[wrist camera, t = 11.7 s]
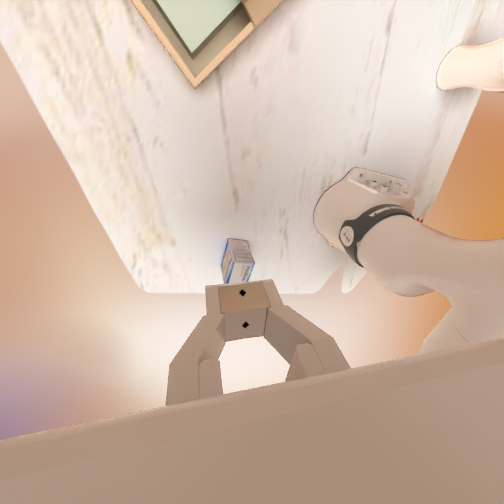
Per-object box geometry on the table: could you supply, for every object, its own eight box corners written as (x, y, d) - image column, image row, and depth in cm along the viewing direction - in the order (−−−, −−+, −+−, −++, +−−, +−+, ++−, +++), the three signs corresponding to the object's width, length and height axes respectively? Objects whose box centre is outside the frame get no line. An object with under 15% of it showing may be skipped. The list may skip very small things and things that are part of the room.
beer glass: (425, 81, 38) (530, 74, 26) (458, 31, 35) (594, -2, 23) (447, 101, 41) (551, 102, 29) (479, 56, 38) (611, 37, 26)
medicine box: (227, 237, 48) (233, 261, 41) (247, 240, 49) (255, 263, 43) (220, 265, 52) (224, 291, 45) (238, 267, 53) (245, 293, 47)
